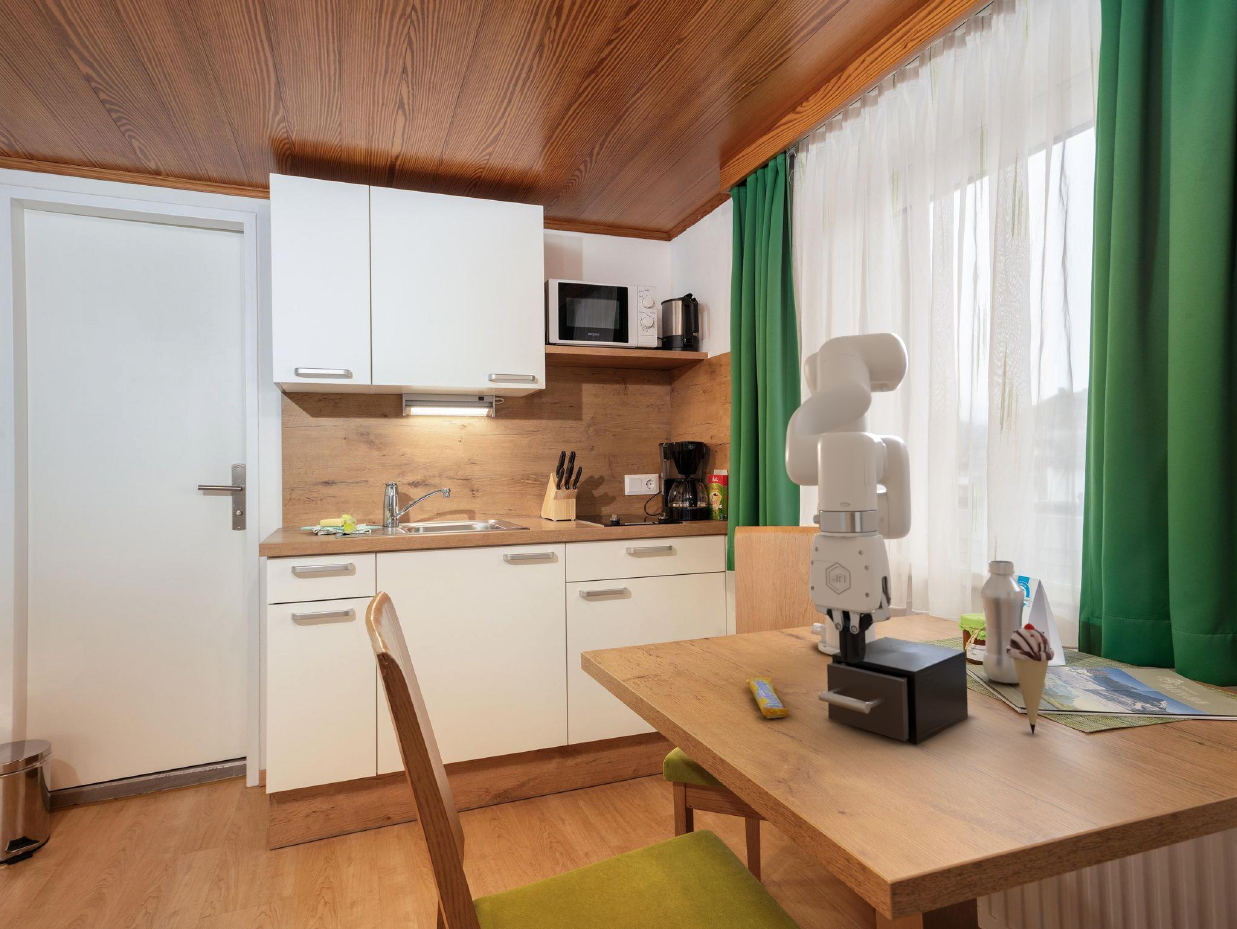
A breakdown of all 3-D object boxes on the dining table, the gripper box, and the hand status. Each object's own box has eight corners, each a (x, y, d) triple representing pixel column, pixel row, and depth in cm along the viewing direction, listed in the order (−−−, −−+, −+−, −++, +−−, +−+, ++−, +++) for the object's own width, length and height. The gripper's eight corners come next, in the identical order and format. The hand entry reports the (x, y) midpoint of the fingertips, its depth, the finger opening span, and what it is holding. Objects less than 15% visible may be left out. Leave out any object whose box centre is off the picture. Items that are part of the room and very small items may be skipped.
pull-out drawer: (881, 752, 88) (879, 690, 88) (805, 728, 97) (804, 671, 97) (953, 715, 100) (951, 660, 100) (879, 697, 109) (877, 646, 109)
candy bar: (791, 721, 102) (790, 708, 102) (762, 721, 102) (762, 708, 102) (770, 685, 119) (770, 674, 119) (745, 685, 119) (745, 674, 119)
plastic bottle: (1016, 675, 120) (1011, 558, 120) (1035, 688, 113) (1031, 564, 113) (976, 675, 121) (972, 559, 121) (993, 688, 114) (989, 565, 114)
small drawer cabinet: (917, 744, 92) (914, 671, 92) (833, 720, 102) (831, 654, 102) (968, 717, 101) (966, 650, 101) (887, 697, 111) (885, 636, 111)
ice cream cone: (998, 730, 96) (995, 621, 96) (1029, 724, 98) (1025, 616, 98) (1036, 745, 91) (1032, 629, 91) (1068, 738, 93) (1064, 624, 93)
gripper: (785, 523, 98) (789, 655, 98) (884, 528, 86) (889, 677, 86) (817, 520, 103) (821, 646, 102) (915, 524, 91) (920, 665, 91)
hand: (852, 660), depth 94 cm, fingers closed
